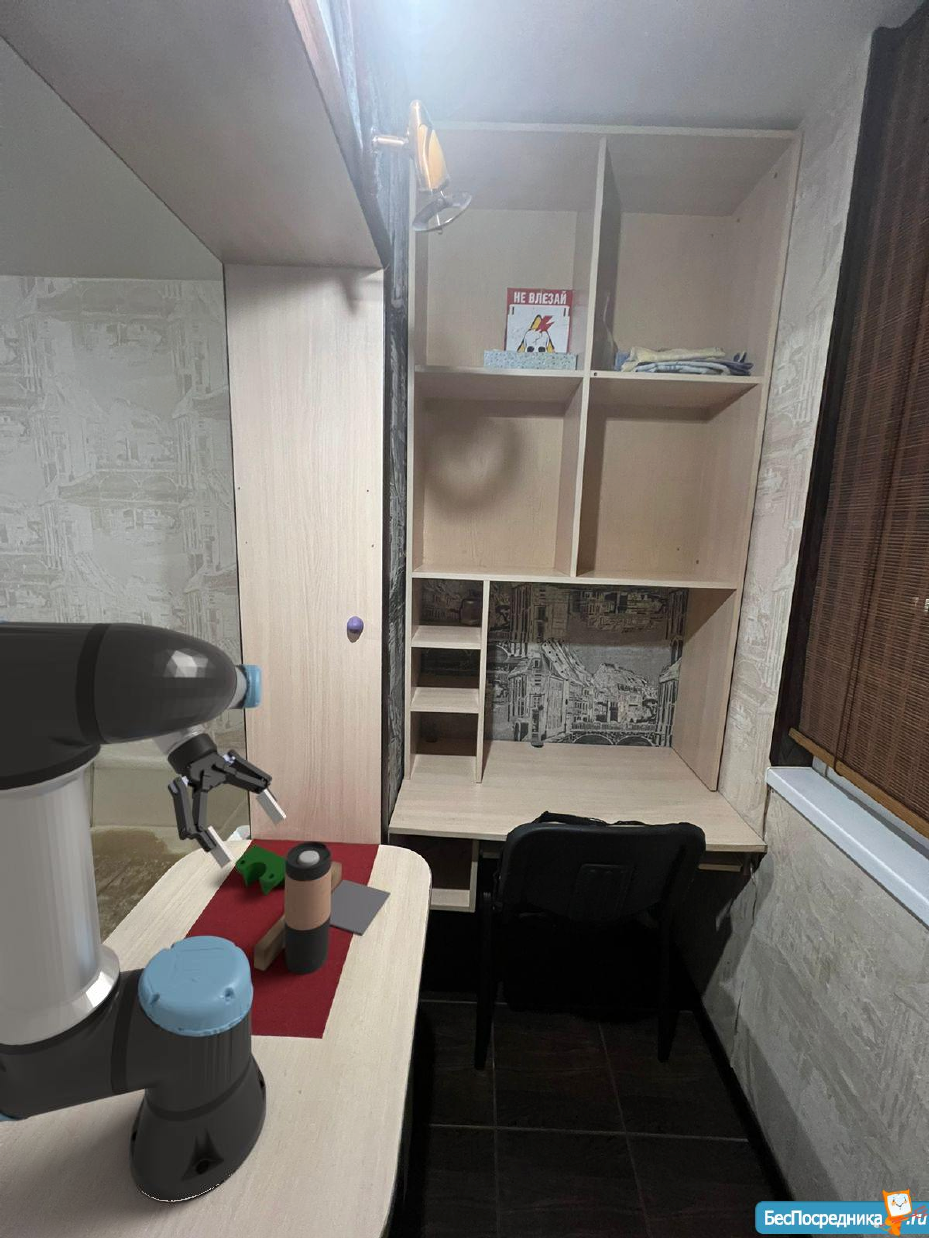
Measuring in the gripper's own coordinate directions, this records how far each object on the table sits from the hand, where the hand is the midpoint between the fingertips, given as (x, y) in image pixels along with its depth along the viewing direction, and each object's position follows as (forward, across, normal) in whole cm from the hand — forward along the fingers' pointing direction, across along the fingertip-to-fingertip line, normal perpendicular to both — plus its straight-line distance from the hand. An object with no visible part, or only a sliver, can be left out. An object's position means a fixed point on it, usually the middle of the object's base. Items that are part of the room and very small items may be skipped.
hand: (256, 840), depth 91 cm
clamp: (+8, -13, -20) cm, 25 cm away
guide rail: (+17, -8, -11) cm, 22 cm away
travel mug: (+22, 0, -7) cm, 22 cm away
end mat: (+22, -14, -6) cm, 27 cm away
